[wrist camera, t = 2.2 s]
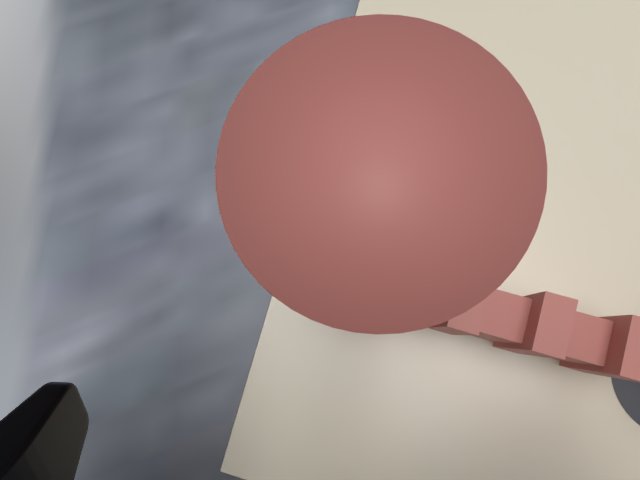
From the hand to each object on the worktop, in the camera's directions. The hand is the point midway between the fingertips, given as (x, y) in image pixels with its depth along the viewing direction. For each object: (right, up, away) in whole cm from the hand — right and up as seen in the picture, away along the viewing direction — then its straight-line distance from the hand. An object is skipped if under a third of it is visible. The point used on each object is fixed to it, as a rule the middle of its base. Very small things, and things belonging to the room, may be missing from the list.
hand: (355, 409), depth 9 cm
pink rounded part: (+4, 0, +10) cm, 10 cm away
